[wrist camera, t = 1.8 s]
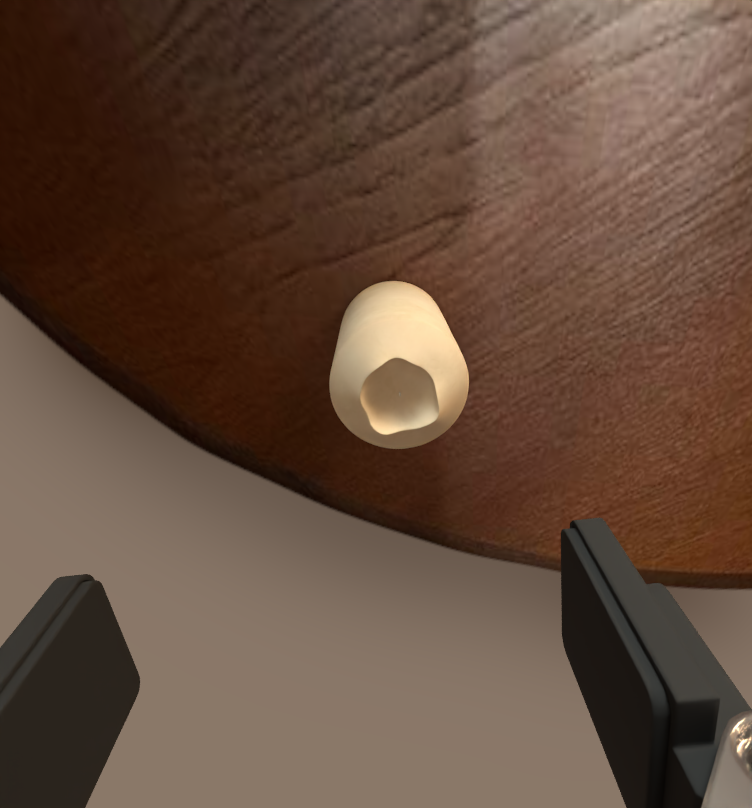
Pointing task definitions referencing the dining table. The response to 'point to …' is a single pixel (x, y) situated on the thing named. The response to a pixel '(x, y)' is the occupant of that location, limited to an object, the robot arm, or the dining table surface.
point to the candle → (397, 368)
